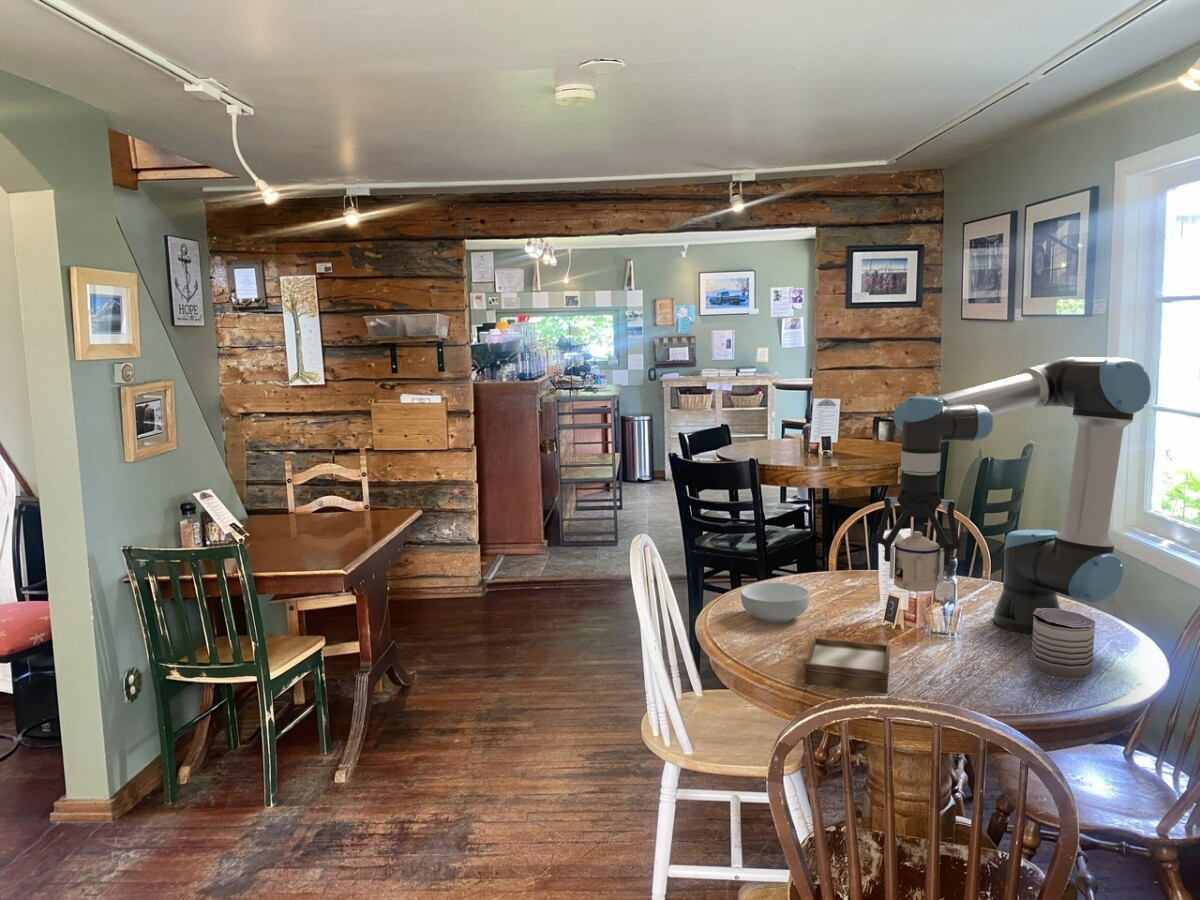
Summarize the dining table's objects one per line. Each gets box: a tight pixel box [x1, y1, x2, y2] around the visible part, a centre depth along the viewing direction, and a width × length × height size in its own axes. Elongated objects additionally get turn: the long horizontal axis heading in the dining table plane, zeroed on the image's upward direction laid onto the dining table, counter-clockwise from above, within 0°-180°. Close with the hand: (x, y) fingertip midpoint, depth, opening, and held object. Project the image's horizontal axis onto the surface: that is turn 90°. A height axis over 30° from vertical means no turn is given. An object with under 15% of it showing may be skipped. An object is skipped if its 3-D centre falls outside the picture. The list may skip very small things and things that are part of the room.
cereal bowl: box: [740, 581, 810, 624], centre depth 215 cm, size 17×17×7 cm
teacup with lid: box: [893, 530, 941, 593], centre depth 178 cm, size 12×9×12 cm
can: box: [1030, 608, 1096, 681], centre depth 179 cm, size 11×11×12 cm
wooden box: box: [804, 637, 891, 694], centre depth 180 cm, size 16×16×4 cm
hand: (915, 578), depth 179 cm, fingers closed on teacup with lid, 9 cm apart
